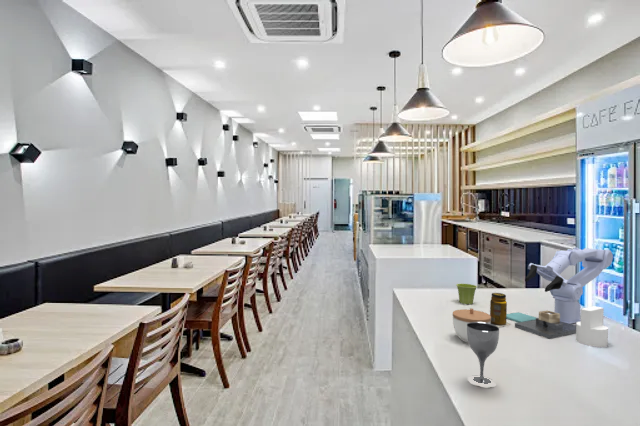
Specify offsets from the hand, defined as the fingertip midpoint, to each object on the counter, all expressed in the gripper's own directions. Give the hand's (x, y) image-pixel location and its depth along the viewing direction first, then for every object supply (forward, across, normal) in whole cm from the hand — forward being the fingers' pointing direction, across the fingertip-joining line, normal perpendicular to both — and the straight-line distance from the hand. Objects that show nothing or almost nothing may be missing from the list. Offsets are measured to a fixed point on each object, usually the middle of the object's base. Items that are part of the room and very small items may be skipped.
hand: (535, 284), depth 144 cm
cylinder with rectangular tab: (+5, +24, +8) cm, 25 cm away
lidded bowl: (+38, -2, +3) cm, 38 cm away
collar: (+3, +9, +11) cm, 14 cm away
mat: (+1, -2, +21) cm, 21 cm away
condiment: (+15, -5, +16) cm, 22 cm away
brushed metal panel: (+4, +10, +14) cm, 18 cm away
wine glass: (+60, +16, -15) cm, 63 cm away
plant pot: (+1, -28, +32) cm, 43 cm away
